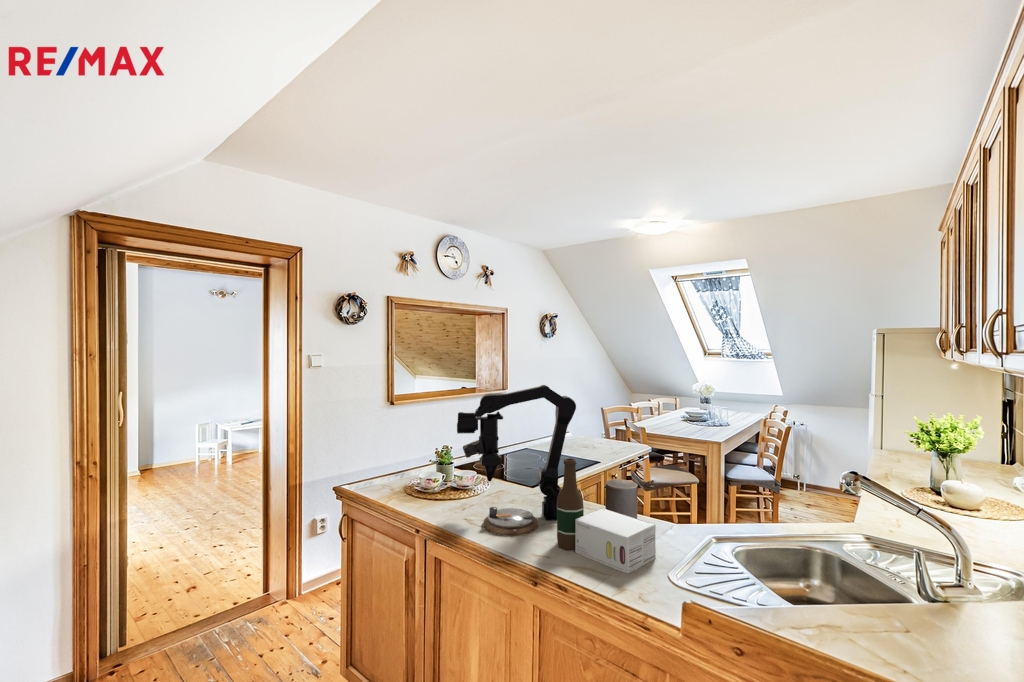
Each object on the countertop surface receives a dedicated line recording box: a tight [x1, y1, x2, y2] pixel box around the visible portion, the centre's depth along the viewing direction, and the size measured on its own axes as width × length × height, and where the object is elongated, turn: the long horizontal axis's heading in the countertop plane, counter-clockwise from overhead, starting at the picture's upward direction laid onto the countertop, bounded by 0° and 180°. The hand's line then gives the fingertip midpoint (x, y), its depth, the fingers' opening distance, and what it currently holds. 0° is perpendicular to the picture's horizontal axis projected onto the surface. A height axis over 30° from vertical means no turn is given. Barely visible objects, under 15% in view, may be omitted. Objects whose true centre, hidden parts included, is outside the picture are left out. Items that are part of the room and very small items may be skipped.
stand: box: [483, 515, 539, 537], centre depth 151 cm, size 17×17×1 cm
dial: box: [487, 506, 534, 529], centre depth 151 cm, size 14×14×4 cm
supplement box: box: [574, 508, 657, 574], centre depth 129 cm, size 17×13×9 cm
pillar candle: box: [604, 478, 639, 519], centre depth 148 cm, size 10×10×15 cm
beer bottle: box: [556, 457, 585, 552], centre depth 135 cm, size 8×8×24 cm
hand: (489, 481), depth 157 cm, fingers closed
